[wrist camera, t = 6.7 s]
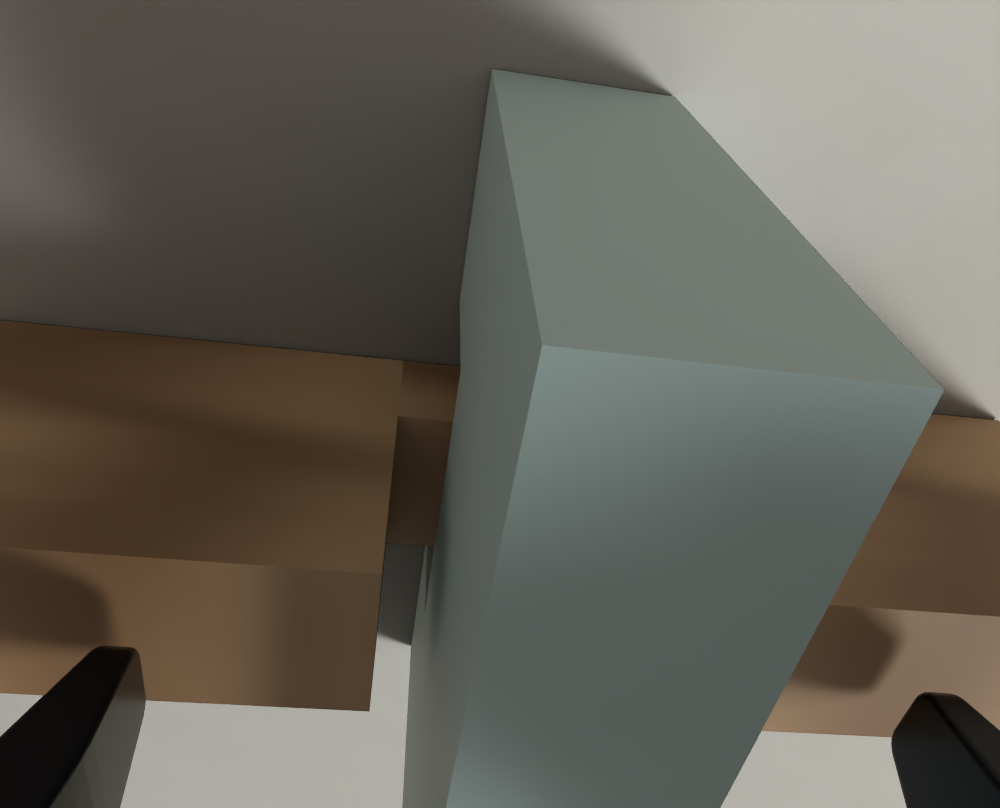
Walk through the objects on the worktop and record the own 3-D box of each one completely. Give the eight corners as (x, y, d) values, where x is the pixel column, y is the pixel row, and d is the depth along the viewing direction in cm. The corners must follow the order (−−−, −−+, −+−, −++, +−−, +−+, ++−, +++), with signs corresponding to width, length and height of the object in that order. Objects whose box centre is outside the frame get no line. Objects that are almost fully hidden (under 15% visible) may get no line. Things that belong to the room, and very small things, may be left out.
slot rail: (18, 450, 13) (-154, 684, 9) (-11, 320, 12) (-225, 531, 8) (936, 526, 15) (1095, 747, 11) (998, 420, 14) (1200, 631, 10)
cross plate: (411, 647, 16) (387, 1086, 10) (492, 68, 10) (541, 343, 4) (529, 655, 17) (570, 1085, 11) (675, 96, 11) (944, 388, 5)
